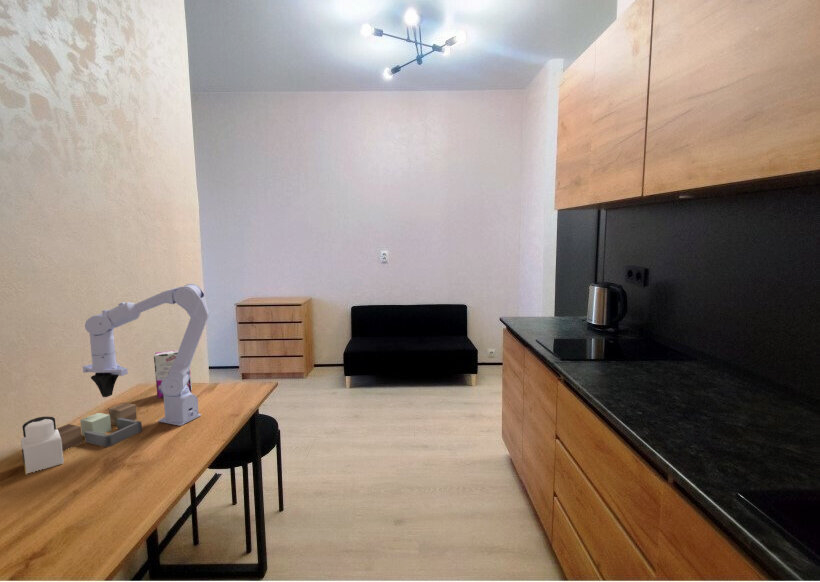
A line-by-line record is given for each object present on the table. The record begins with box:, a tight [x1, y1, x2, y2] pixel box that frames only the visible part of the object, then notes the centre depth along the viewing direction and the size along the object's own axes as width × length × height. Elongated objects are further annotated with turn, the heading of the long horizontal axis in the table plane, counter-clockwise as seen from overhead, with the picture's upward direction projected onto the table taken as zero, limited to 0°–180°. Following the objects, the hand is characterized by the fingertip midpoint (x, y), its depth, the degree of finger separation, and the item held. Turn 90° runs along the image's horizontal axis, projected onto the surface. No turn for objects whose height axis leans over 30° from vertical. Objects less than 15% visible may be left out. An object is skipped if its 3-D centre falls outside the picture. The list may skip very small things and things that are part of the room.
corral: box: [84, 418, 143, 448], centre depth 114 cm, size 9×10×3 cm
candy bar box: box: [153, 349, 193, 399], centre depth 147 cm, size 11×5×16 cm, turn 117°
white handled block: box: [20, 416, 65, 475], centre depth 99 cm, size 7×7×12 cm
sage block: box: [79, 412, 112, 437], centre depth 117 cm, size 5×5×5 cm
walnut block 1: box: [56, 423, 83, 452], centre depth 109 cm, size 5×5×5 cm
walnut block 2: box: [108, 402, 138, 426], centre depth 124 cm, size 5×5×5 cm
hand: (107, 396), depth 119 cm, fingers closed
